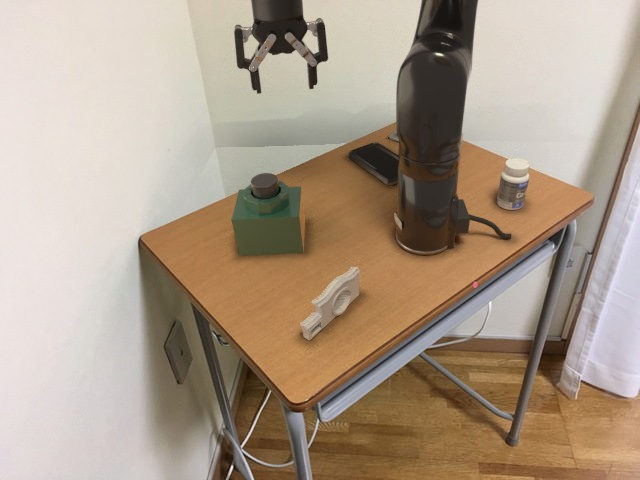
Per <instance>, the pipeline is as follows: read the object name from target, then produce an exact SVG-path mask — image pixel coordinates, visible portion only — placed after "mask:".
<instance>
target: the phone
mask: <svg viewBox="0 0 640 480" xmlns="http://www.w3.org/2000/svg"><path fill="white" fill-rule="evenodd" d="M348 158H349V159H350V160H351V161H352V162H354V163H355V164H357V165H358V166H360V167H361V168H362V169H363V170H365V171H367V172H368V173H369V174H371V175H372V176H374V177H375V178H376V179H377V180H378V181H380V182H382V183H383V184H384V185H387V186H394V185H396V184H398V160H399V154H397V153H395V152H394V151H393V150H391V149H389V148H387V147H386V146H384V145H383V144H381V143H379V142H371V143H367V144H365V145H362V146H359V147H357V148H354V149H351V150H350V151H349V152H348Z"/></svg>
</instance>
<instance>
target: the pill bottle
mask: <svg viewBox="0 0 640 480" xmlns="http://www.w3.org/2000/svg"><path fill="white" fill-rule="evenodd" d="M530 166H531V165H530V162H529V161H528V160H526V159H523V158H520V157H519V158H518V157H514V158H513V157H512V158H509V159H507V160H505V163H504V169H503V170H502V172H501V174H500V179H499V185H498V191H497V197H496V204H497V206H499V208H502V209H504V210H507V211H517V210H520V209H521V208H523V207H524V204H525V200H526V196H527V192H528V185H529V181H530V173H529V172H530Z"/></svg>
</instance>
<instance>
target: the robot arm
mask: <svg viewBox="0 0 640 480" xmlns="http://www.w3.org/2000/svg"><path fill="white" fill-rule="evenodd" d="M250 3H251V9H252V18H253V23H252V25H251V26H242V25H241V24H236V25H234V28H233V29H234V31H233V34H234V35H233V36H234V45H235V57H236V66H237V68H238V69H240V70H247V71H248V72H249V76H250V77H249V78H250V85H251V89H252V91H256V94H258V95H261V94H262V85H261V75H260V68H259V67H260V65H261V63H262V62H264V60H265V59H266V56H267V55H268V54H271V55H272V56H277V55H280V54H284V55H285V54H286V55H291V54H293V53H294V52H295V51H296V52H297V53H298V54H299V56H301V58H303V59H304V60H305V61H306V65H307V66H306V69H307V70H306V71H307V83H308V89H309V90H314V88H315V87H314V86H317V85H318V65H319V64H320V63H322V62H323V63H324V62H325V63H326V62H327V61H328V60H329V52H328V42H327V31H326V24H325V22H324V20H323V18H321V17H318V18H316V19H315V20H312V21H306V20H305V17H304V4H303V0H250ZM478 6H479V0H421V1H420V9H419V13H418V19H417V24H416V29H415V32H414V36H413V38H412V39H413V40H412V43H411V46H410V49H409V51H408V53H407V55H406V56H405V58H404V60H402V63H401V65H400V67H399V69H398V73H397V77H396V88H395V90H396V92H395V95H396V97H395V100H396V101H395V111H396V112H395V119H396V120H395V123H396V124H395V129H396V136H397V139H398V155H399V160H398V183H397V198H396V201H397V202H396V213H394V221H395V223H396V227H395V228H396V229H395V240H396V243H397V245H398V246H399V247H400V248H401V249H402V250H405V251H406V252H408V253H411V254H413V255H418V256H419V255H420V256H433V255H438V254H440V253H442V252H445V251H446V250H447V249H453V248H455V242H456V235H457V234H458V235H459V234H469V228H470V223H471V221H473V222H476V223H480V224H483V225H484V226H487V227H489V228H491V229H492V230H493V231H494V232H495V233H496V235H497V236H499V238H501V239H504V240H509V239H512V233H505V232H503V231H502V230H501V229H500V227H499V226H498V225H497V224H495V223H494V222H493V221H490V220H488V219H486V218H483V217H480V216H476V215H473V214H470V213H469V211H468V208H467V206H466V203H465V200H464V199H463V198H461V199H460V198H459V195H458V193H457V192H458V183H459V182H458V181H459V173H460V165H461V156H462V149H463V148H462V147H463V140H464V134H463V126H464V118H465V117H464V116H465V106H466V99H467V98H466V97H467V89H468V84H469V81H470V78H471V74H472V69H473V57H474V56H473V55H474V54H473V53H474V39H475V30H476V29H475V28H476V21H477V13H478ZM308 31H310V32H311V34H312V36H313V37H316V38H317V48H318V51H317V52H315V53H314V52H312V50H311V49H310V48H309V47H308V45H307V44H306V43H305V42H304V38H305V36H306V34H307V33H308ZM250 36H252V37H253V39H255V40H256V41H257V43H258V44H257V46H256V48H255V50H254V52H253V55H252V56H251V58H247V57H246V55H245V54H246V53H245V44H246V43H248V41H249V37H250Z"/></svg>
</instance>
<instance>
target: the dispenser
mask: <svg viewBox="0 0 640 480" xmlns="http://www.w3.org/2000/svg"><path fill="white" fill-rule="evenodd" d="M278 184H279V194H278V195H277V196H276V197H273V198H270V199H262V200H260V199H257V198H255V197H254V196H253V192H252V186H251V183H250V184H249V185H247V186H246V187H245V188H243V189H238V192H237V196H236V200H235V204H234V209H233V212H232V217H231V224H232V229H233V233H234V238H235V243H236V247H237V252H238V257H253V256H255V257H256V256H273V255H296V254H304V253H305V235H306V234H305V233H306V216H305V214H306V213H305V206H304V197H303V188H302V186H301V185H300V186H299V185H298V186H288V185H287V184H286V183H285V182H284V181H283V180H279V179H278Z"/></svg>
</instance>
